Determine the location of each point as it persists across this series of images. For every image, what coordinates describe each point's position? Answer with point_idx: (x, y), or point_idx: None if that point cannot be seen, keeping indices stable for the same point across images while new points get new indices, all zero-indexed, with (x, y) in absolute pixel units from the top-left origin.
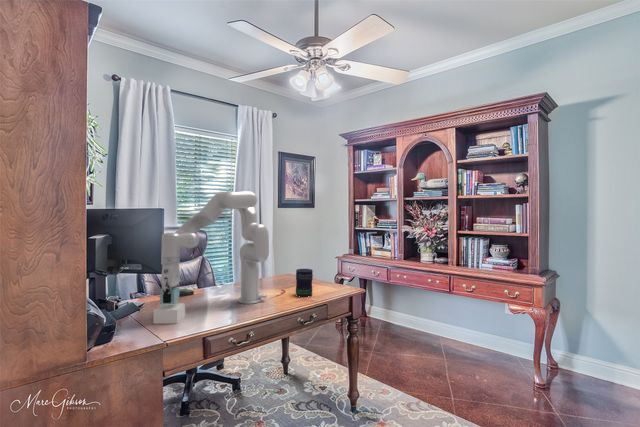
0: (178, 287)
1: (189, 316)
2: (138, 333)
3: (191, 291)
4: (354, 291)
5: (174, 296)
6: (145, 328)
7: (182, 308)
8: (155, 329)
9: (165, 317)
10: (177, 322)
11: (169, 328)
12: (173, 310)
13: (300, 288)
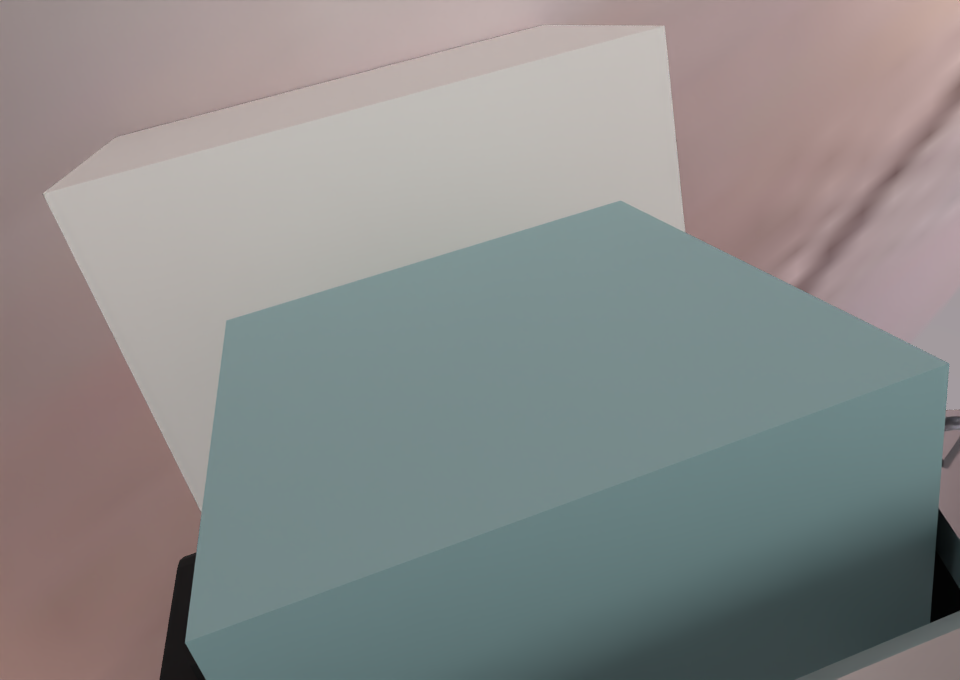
0: (221, 665)
1: (80, 29)
2: (925, 297)
3: None
4: None
5: (741, 268)
6: None
7: (271, 121)
8: (805, 195)
9: None
10: (533, 28)
11: (763, 12)
12: (664, 123)
13: None
